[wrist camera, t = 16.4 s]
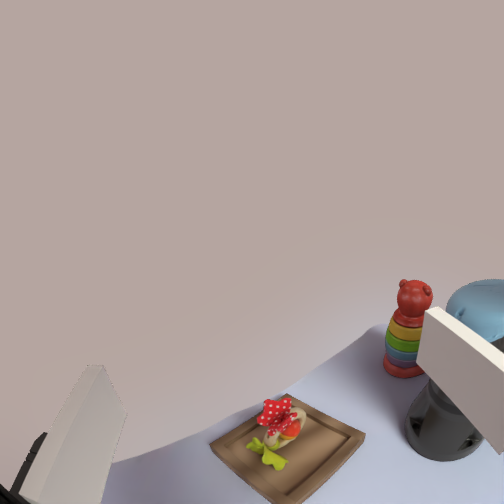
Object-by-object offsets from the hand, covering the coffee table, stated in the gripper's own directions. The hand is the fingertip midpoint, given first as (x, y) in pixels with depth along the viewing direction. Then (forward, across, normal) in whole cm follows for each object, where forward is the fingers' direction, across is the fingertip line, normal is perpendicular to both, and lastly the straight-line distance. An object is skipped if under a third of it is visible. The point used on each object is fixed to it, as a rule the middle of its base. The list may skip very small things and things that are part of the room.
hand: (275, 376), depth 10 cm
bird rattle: (+16, +1, -29) cm, 33 cm away
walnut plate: (+16, +2, -30) cm, 34 cm away
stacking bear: (+29, +29, -30) cm, 51 cm away
